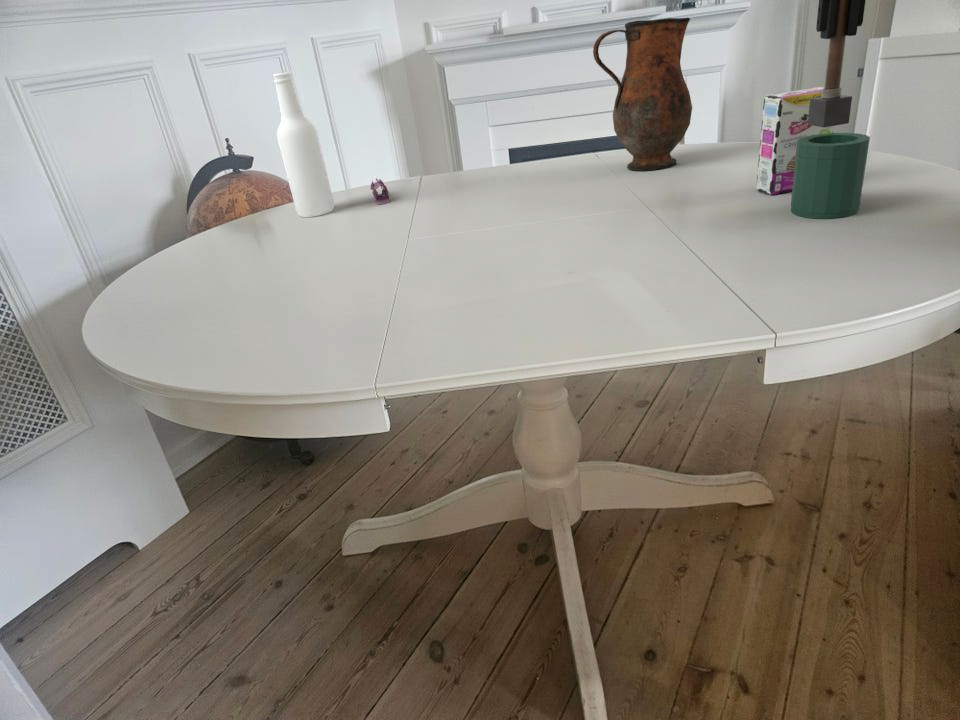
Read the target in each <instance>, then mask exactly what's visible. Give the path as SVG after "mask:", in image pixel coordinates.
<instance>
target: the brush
mask: <svg viewBox="0 0 960 720" xmlns="http://www.w3.org/2000/svg"><path fill="white" fill-rule="evenodd" d="M849 5H850V0H838V7H837V16H836V25H835V34H834V37H832V38H831V39H828V40H829V41H828V51H827V59H826V70H825V77H824V86H823V87H824V89H822V96H821V97H817V98H811V99H810V105H809V115H808V125H813V126H818V127H823V128H824V127H830V126H834V127H836V126H841V125H847V124H849V123H850V118H851V110H852V101H853V96H852V95H844V94H842V87H841V79H842V72H843V63H844V55H845V47H846V39H847V36H846V31H847V22H848V14H849Z"/></svg>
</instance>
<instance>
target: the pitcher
mask: <svg viewBox="0 0 960 720" xmlns="http://www.w3.org/2000/svg"><path fill="white" fill-rule="evenodd" d="M690 21H691V18H689V17H667V18H658V19H651V20H650V19H648V20H634V21H628V22H626V23H625V24H624V27H625V29H613V30H609V31H605V32H603V33H601V34H600V35H599V37H598V38H596V40H595V42H594V44H593V48H592V49H593V50H592V53H593V59H594V61H595V62H596V65H598V66H599V67H600V68H601V69H602V70H603V71H604V72H605V73H606V74H607V75H609V77H611V78H612V79H613V81H614V82H615V83H616V85H617V94H616V97H615V100H614V105H613V110H612V122H613V131H614V133H615V135H616V137H617V138H618V140H619V143H620V145H622V146H623V148H624V149H625V150H626V151H627V152H628V153H629V154H630V155H631V156H632V160H631V162H629V163H628V164H627V165H626V168H627V169H628V170H630V171H633V172H648V171H650V172H651V171H658V170H664V169H668V168H672V167H674V166H676V165H677V162H678V161H677V159H676V158H674V157H672V155H671V153H672V151H673V150H674V149H675V148H676V147H677V146H678V145H679V143H680V142H681V141H682V140H683V139H684V136H685V134H686V133H687V131H688V129H689V127H690V126H691V120H692V112H693V103H692V100H691V98H692V97H691V94H690V90H689V88H688V85H687V83H686V80H685V78H684V75H683V71H682V66H681V65H682V64H681V58H682V51H683V50H682V49H683V44H684V38H685V34H686V30H687V27H688V26H689V22H690ZM615 33H624V36H625V41H626V58H625V67H624V71H623V75H622V78H621V80H620V78H619V77H618V76H617V75H616V74H615V73H614V72H613V71H612V70H611V69H610V68H609V67H608V66H607V65H605V63H604V62H603V61H602V60H601V57H600V53H599V49H600V48H599V47H600V45H601V42H602V41H603V40H604V39H605V38H606V37H608V36H610V35H612V34H615Z"/></svg>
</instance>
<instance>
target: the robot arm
mask: <svg viewBox="0 0 960 720" xmlns="http://www.w3.org/2000/svg"><path fill="white" fill-rule="evenodd" d="M837 7H838V0H818V7H817V17H816V25H815V26H816V27H815V29H816V32H817V33H819V32H820V35H819V37H820V39H824V40H830V39H831V38H832V37H834V34H835V25H836V16H837ZM865 7H866V0H850V5H849V14H848V22H847V31H846V37H853V36H857V32H858V27H862V25H863V22H864V16H865Z"/></svg>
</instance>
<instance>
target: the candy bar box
mask: <svg viewBox="0 0 960 720" xmlns="http://www.w3.org/2000/svg"><path fill="white" fill-rule="evenodd" d="M822 89H824V86H818V87H811V88H803V89H797V90H791V91H786V92H779V93H771V94H766V95H764V97H763V108H762V119H761V130H760V142H759V153H758V162H757V163H758V164H757V175H756V184H755V185H756V187H755V190H756V191H758V192H760V193H764V194H766V195H769V196H773V195H778V194H784V193H790V192H792V188H793V178H794V168H795V158H796V148H797V141H798V140H799V139H800V138H804V137H807V136H812V135H818V134H828V133H834V129H835V128H834V127H835V126H830V127H824V128H823V127H818V126H813V125H808V115H809V105H810V99H811V98H817V97H821V96H822Z"/></svg>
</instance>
